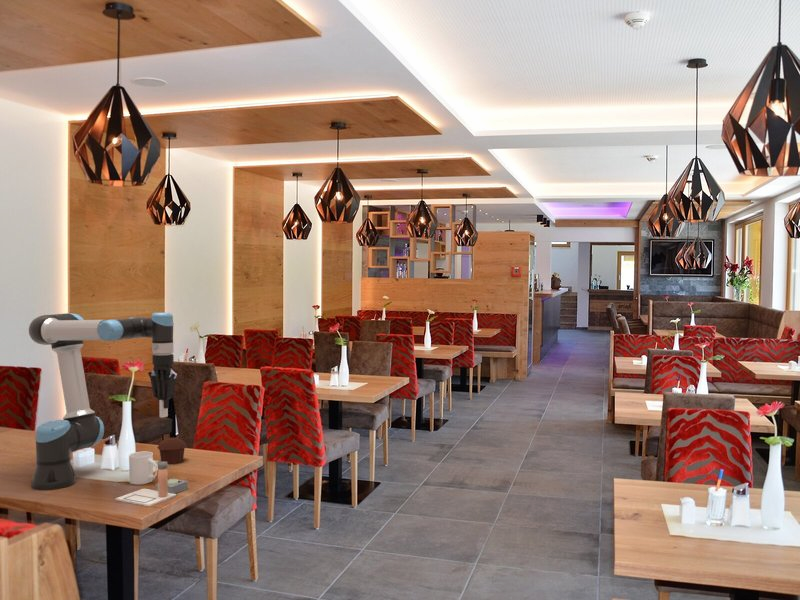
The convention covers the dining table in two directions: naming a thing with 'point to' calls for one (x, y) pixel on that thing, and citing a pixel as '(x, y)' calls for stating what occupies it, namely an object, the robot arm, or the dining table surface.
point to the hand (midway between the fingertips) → (163, 416)
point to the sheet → (144, 497)
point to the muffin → (172, 450)
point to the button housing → (176, 487)
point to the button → (172, 481)
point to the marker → (162, 479)
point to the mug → (141, 468)
